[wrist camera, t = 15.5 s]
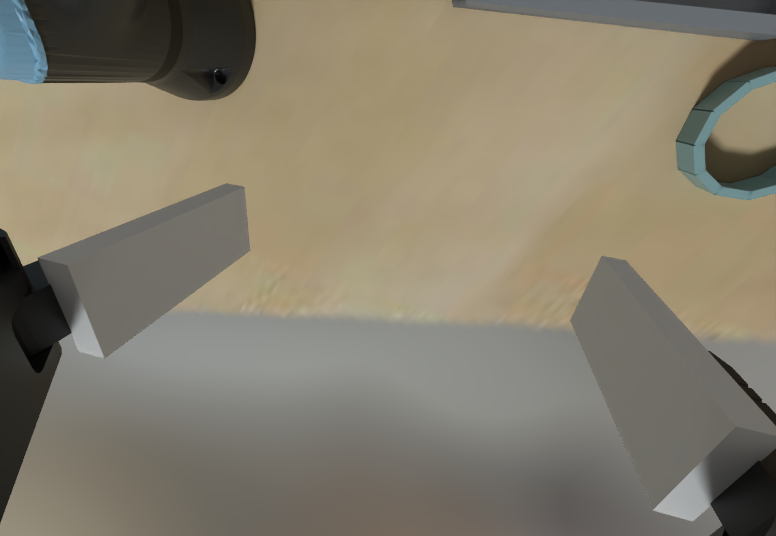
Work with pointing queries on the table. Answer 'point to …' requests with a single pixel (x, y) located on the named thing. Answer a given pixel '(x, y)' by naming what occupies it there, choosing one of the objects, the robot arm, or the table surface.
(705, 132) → the teal ring
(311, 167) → the table surface
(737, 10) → the tray
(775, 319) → the table surface
